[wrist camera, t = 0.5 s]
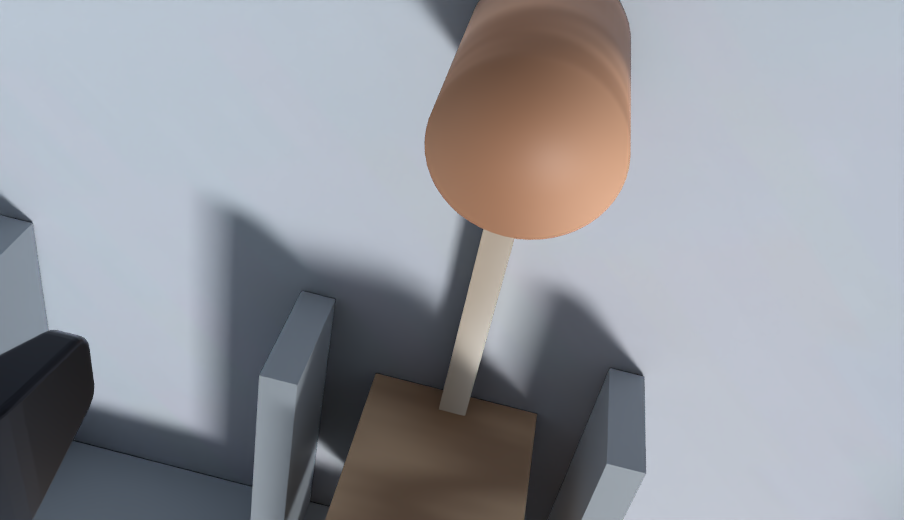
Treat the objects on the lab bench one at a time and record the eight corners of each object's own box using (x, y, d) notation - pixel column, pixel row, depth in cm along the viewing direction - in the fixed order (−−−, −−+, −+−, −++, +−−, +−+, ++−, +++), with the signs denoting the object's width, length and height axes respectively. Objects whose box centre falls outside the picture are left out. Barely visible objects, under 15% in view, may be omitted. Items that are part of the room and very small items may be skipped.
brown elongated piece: (686, -8, 18) (705, 124, 13) (501, 513, 29) (475, 689, 24) (452, -63, 18) (387, 48, 13) (357, 476, 29) (303, 643, 24)
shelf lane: (644, 376, 24) (646, 473, 21) (552, 581, 31) (544, 677, 28) (-1, 214, 25) (-82, 289, 22) (40, 449, 31) (-18, 530, 28)
